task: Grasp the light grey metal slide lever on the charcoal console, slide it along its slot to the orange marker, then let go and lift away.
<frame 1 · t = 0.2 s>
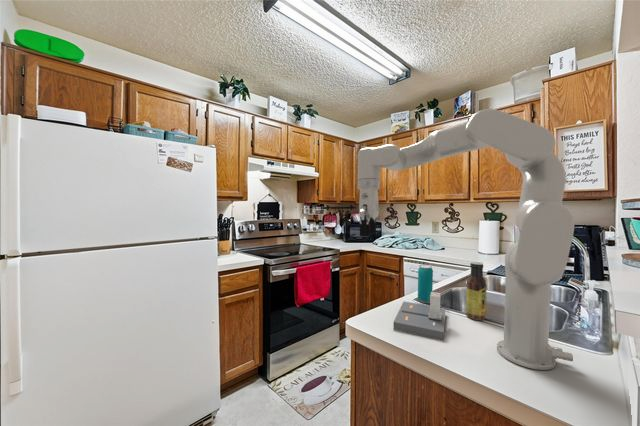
hand: (368, 234, 90), 31 cm above the countertop, tool pointing down, fingers open, 9 cm apart
sauce bottle: (475, 317, 96), on the countertop
beverage can: (424, 301, 111), on the countertop
console: (420, 321, 92), on the countertop
slide lever: (435, 305, 90), point 7 cm above the countertop, slide at -4.5 cm
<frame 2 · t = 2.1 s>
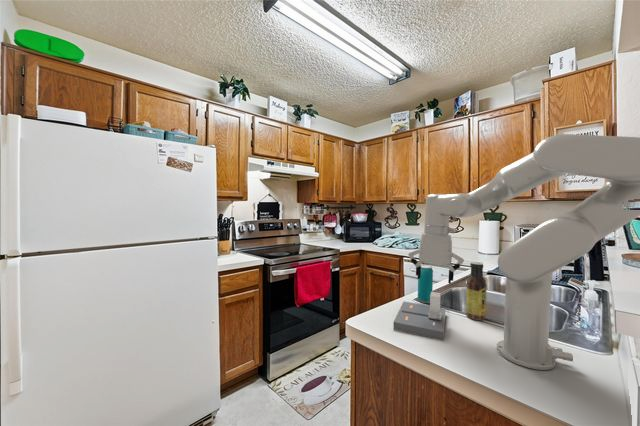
hand: (433, 280, 90), 15 cm above the countertop, tool pointing down, fingers open, 9 cm apart
nothing on the countertop moved.
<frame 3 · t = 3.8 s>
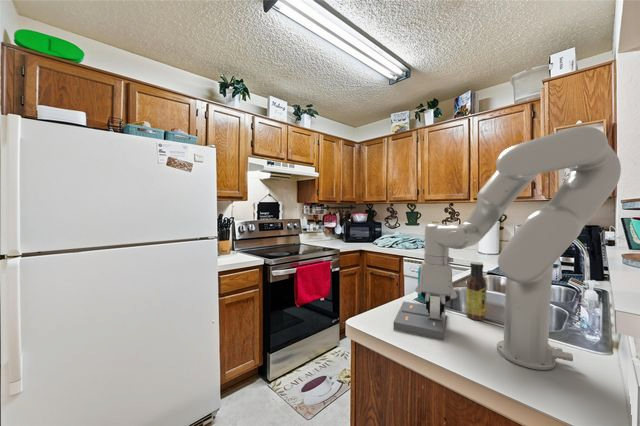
hand: (435, 312, 90), 4 cm above the countertop, tool pointing down, fingers closed on slide lever, 3 cm apart
slide lever: (435, 305, 90), point 7 cm above the countertop, slide at -4.5 cm, touching gripper
everything else where it was.
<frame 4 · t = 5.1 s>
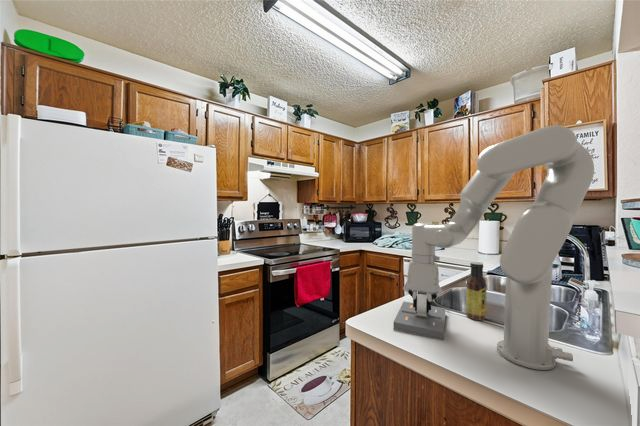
hand: (422, 310, 92), 4 cm above the countertop, tool pointing down, fingers closed on slide lever, 3 cm apart
slide lever: (422, 303, 91), point 7 cm above the countertop, slide at -0.3 cm, touching gripper
everything else where it was.
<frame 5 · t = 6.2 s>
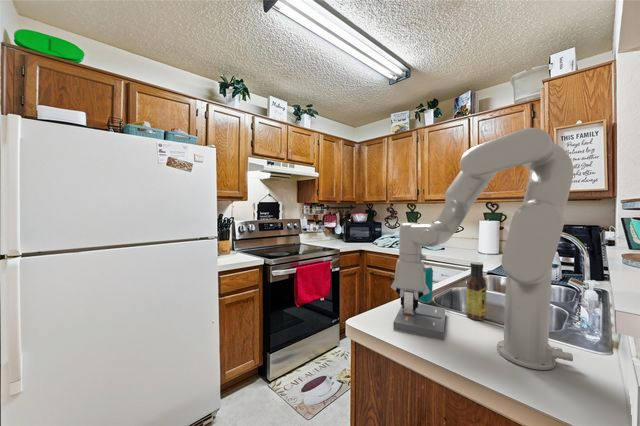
hand: (409, 307, 93), 4 cm above the countertop, tool pointing down, fingers closed on slide lever, 3 cm apart
slide lever: (409, 300, 93), point 7 cm above the countertop, slide at 4.0 cm, touching gripper
everything else where it was.
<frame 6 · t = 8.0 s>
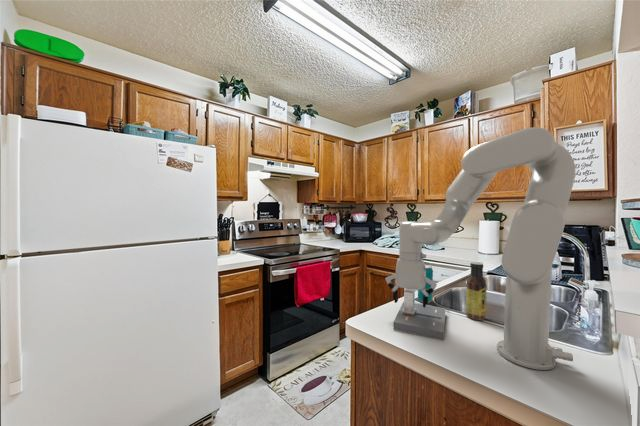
hand: (410, 303, 93), 6 cm above the countertop, tool pointing down, fingers open, 9 cm apart
slide lever: (409, 300, 93), point 7 cm above the countertop, slide at 4.0 cm
everything else where it was.
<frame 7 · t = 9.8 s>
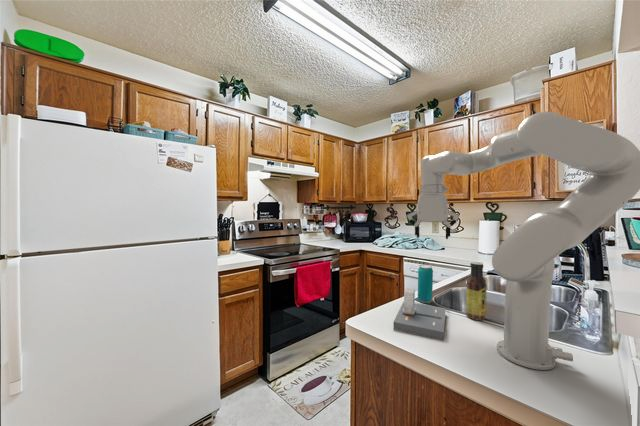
hand: (432, 238, 94), 29 cm above the countertop, tool pointing down, fingers open, 9 cm apart
nothing on the countertop moved.
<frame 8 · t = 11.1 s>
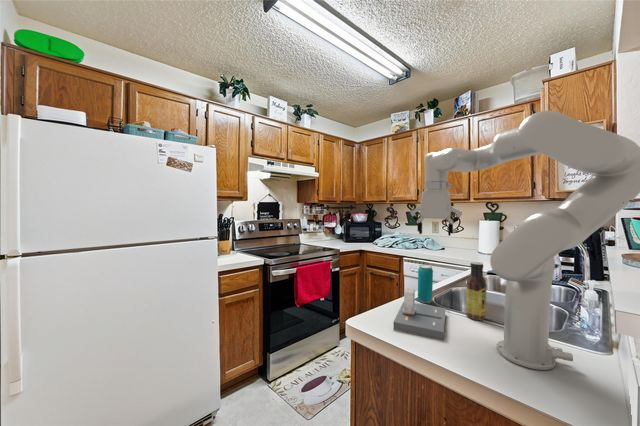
hand: (434, 234, 95), 30 cm above the countertop, tool pointing down, fingers open, 9 cm apart
nothing on the countertop moved.
at the end: slide lever slide at 4.0 cm; the gripper is holding nothing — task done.
